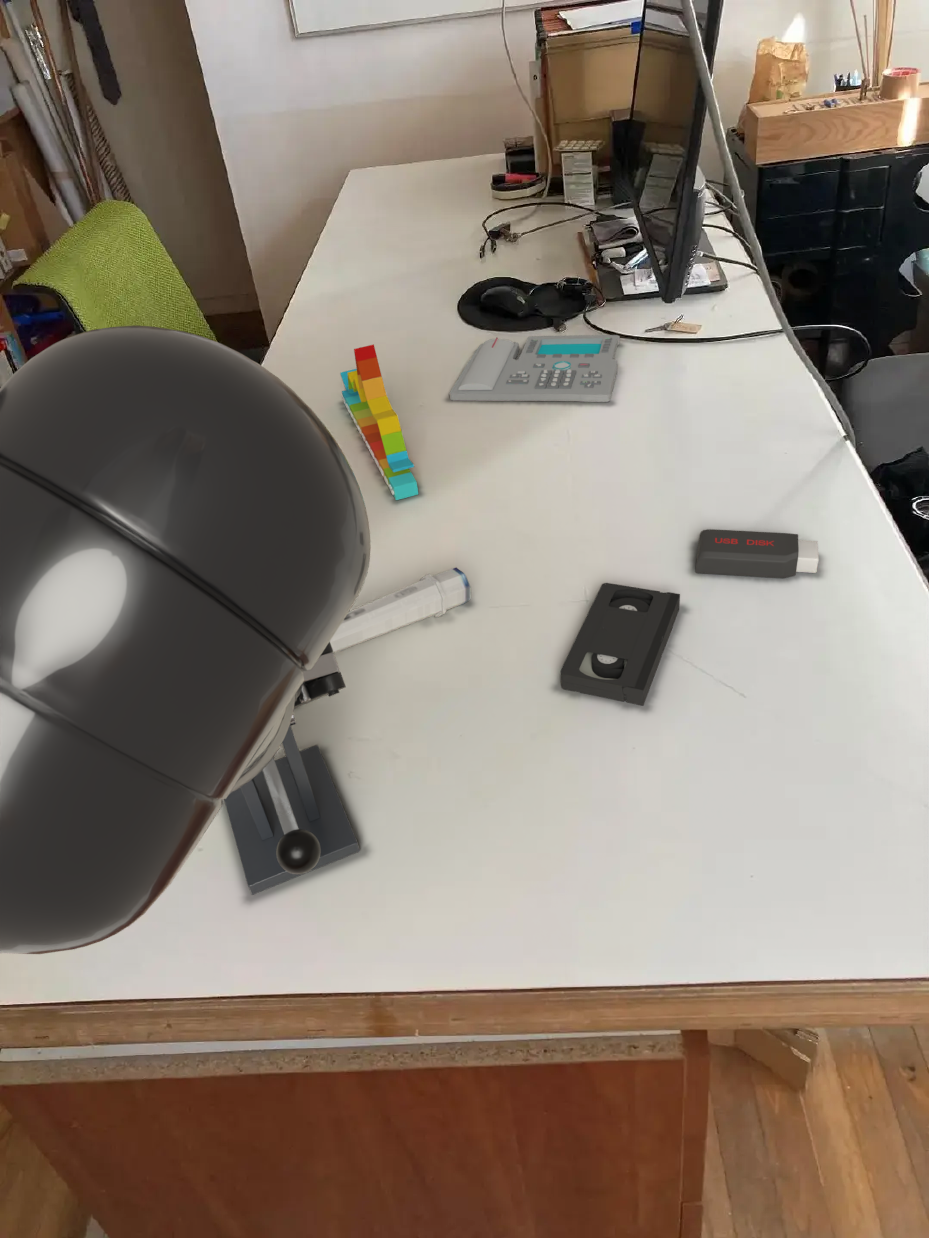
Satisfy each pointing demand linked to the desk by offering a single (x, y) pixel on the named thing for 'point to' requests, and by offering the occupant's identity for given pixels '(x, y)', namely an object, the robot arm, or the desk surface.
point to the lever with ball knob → (290, 829)
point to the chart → (378, 422)
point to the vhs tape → (620, 643)
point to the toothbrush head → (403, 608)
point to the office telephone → (541, 370)
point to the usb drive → (755, 554)
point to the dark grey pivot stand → (310, 807)
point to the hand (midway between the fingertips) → (214, 717)
